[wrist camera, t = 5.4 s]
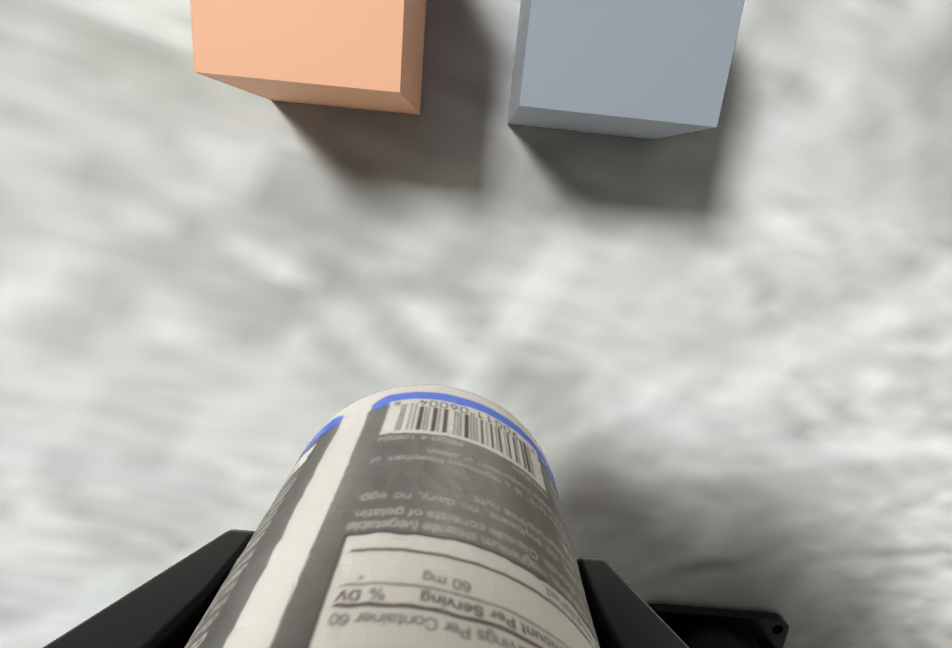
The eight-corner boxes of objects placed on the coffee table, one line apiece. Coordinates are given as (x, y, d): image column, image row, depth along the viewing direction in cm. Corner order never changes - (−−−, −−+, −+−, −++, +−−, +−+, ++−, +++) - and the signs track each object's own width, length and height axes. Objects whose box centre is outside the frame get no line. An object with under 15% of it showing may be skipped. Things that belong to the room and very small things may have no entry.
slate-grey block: (682, -27, 16) (768, -111, 11) (651, 139, 18) (717, 127, 13) (525, -46, 16) (547, -138, 11) (507, 124, 18) (519, 106, 13)
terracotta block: (429, -57, 16) (411, -155, 11) (420, 115, 17) (399, 92, 13) (269, -74, 16) (180, -181, 11) (272, 100, 17) (194, 72, 12)
